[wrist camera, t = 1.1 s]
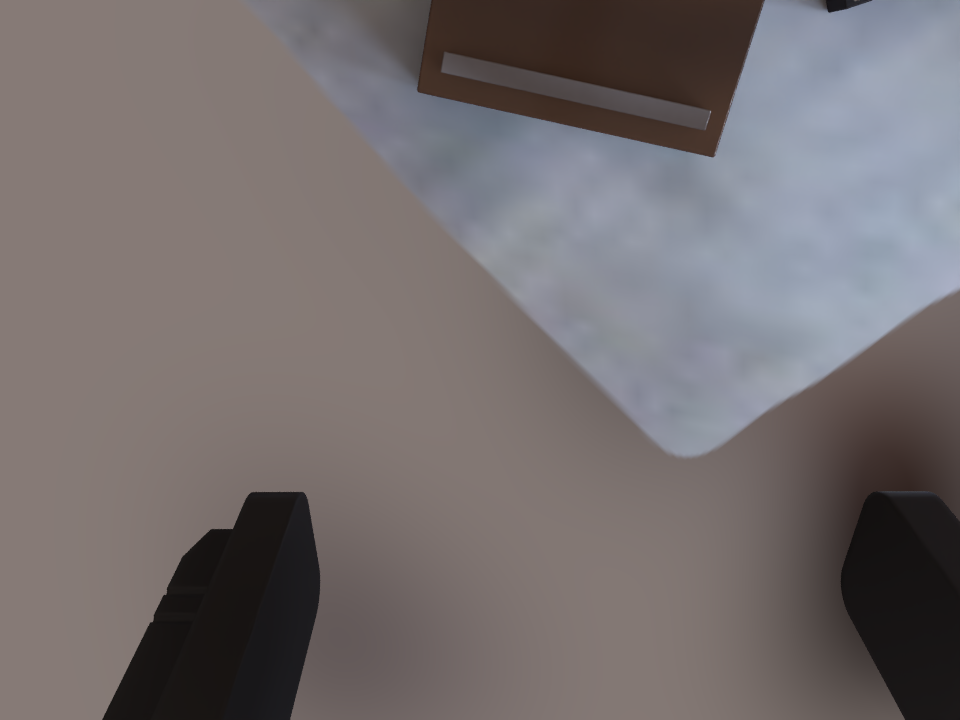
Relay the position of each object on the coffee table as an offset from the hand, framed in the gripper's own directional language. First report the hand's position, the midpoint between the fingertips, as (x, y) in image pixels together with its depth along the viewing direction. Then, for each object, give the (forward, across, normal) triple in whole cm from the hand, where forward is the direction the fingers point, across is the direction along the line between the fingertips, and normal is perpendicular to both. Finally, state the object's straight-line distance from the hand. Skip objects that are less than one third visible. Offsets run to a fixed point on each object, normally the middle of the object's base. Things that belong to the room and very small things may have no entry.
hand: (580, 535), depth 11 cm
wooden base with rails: (+27, -3, -5) cm, 28 cm away
